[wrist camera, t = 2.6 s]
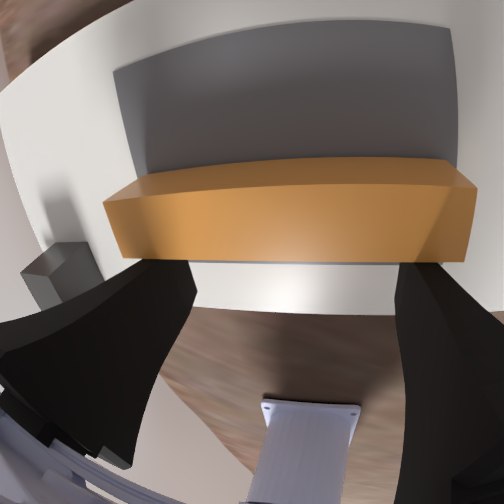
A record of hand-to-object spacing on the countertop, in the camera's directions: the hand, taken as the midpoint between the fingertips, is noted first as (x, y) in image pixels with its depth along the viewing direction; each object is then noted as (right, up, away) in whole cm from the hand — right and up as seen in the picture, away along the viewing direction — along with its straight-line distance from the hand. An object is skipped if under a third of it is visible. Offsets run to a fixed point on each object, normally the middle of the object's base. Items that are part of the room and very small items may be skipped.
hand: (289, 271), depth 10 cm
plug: (-11, 0, +5) cm, 12 cm away
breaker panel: (0, +5, +2) cm, 5 cm away
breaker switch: (0, +3, 0) cm, 3 cm away
